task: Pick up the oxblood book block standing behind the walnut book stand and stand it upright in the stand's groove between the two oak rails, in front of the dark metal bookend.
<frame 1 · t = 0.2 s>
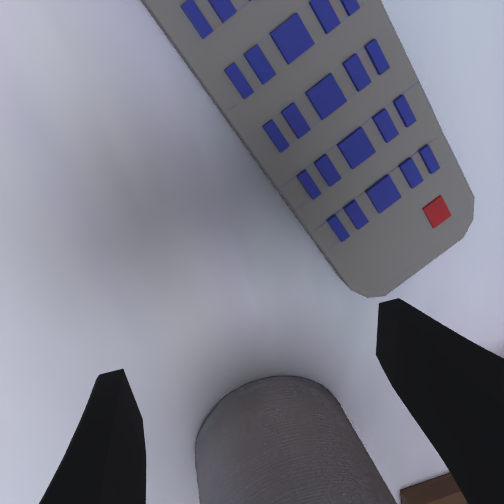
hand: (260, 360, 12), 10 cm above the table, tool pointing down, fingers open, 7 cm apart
remote control: (297, 83, 20), on the table
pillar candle: (269, 434, 28), on the table
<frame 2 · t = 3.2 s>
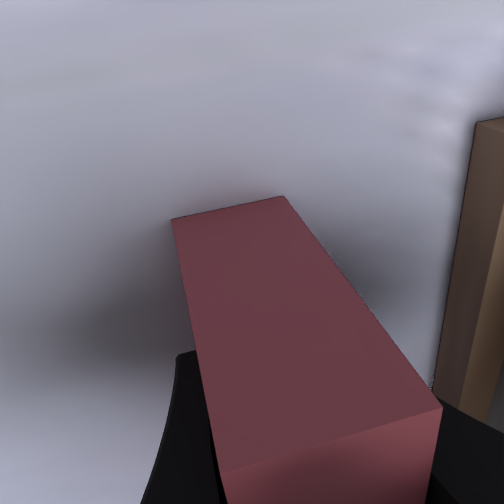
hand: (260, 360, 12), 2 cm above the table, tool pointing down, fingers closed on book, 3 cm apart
book: (246, 323, 14), on the table, touching gripper
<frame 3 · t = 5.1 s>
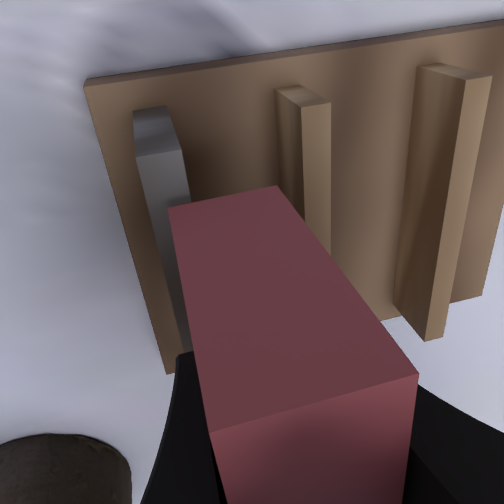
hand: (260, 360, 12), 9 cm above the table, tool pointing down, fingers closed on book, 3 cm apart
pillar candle: (47, 483, 27), on the table
book: (241, 310, 14), point 7 cm above the table, touching gripper
book stand: (321, 204, 21), on the table
when the fingers open (5 cm above the table, at t = 7.1 s): book drops 1 cm, resting on book stand.
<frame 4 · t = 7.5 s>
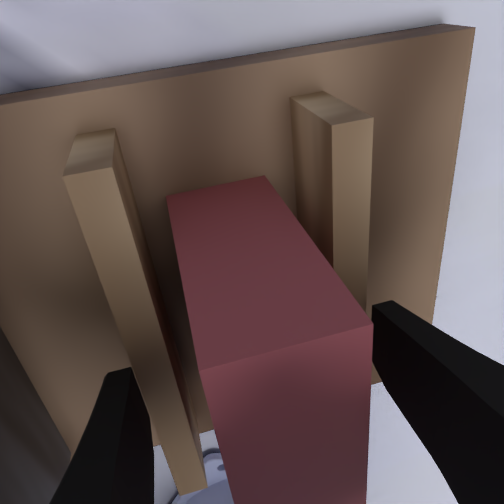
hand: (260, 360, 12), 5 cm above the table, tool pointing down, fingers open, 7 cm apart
book: (234, 291, 15), point 1 cm above the table, touching book stand
book stand: (199, 271, 16), on the table
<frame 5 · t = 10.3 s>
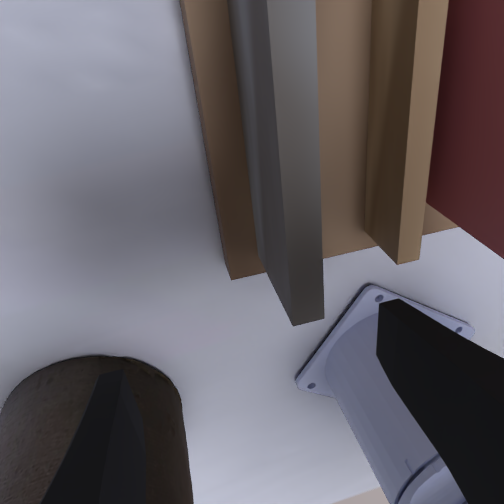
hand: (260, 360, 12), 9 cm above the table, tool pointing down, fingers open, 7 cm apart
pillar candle: (93, 416, 25), on the table
book: (445, 91, 18), point 1 cm above the table, touching book stand
book stand: (404, 84, 19), on the table
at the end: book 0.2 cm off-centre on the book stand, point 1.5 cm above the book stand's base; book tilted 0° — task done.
